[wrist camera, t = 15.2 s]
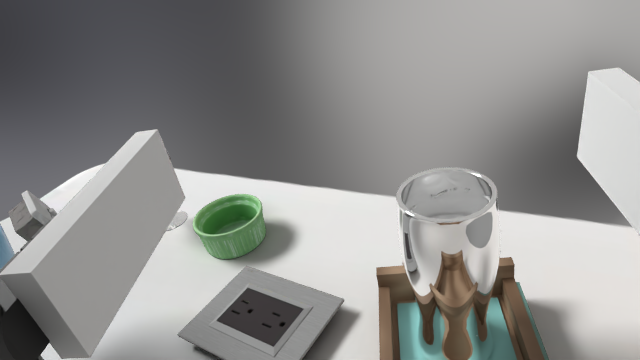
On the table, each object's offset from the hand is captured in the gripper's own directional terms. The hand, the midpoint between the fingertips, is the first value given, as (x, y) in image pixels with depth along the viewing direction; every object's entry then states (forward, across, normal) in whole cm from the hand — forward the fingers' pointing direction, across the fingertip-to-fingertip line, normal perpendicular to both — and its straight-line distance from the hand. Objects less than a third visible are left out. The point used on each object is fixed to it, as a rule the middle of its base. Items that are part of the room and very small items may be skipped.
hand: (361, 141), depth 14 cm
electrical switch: (+33, -48, -29) cm, 65 cm away
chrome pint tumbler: (+13, +4, -26) cm, 30 cm away
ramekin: (+32, -21, -29) cm, 48 cm away
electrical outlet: (+17, -14, -29) cm, 36 cm away
